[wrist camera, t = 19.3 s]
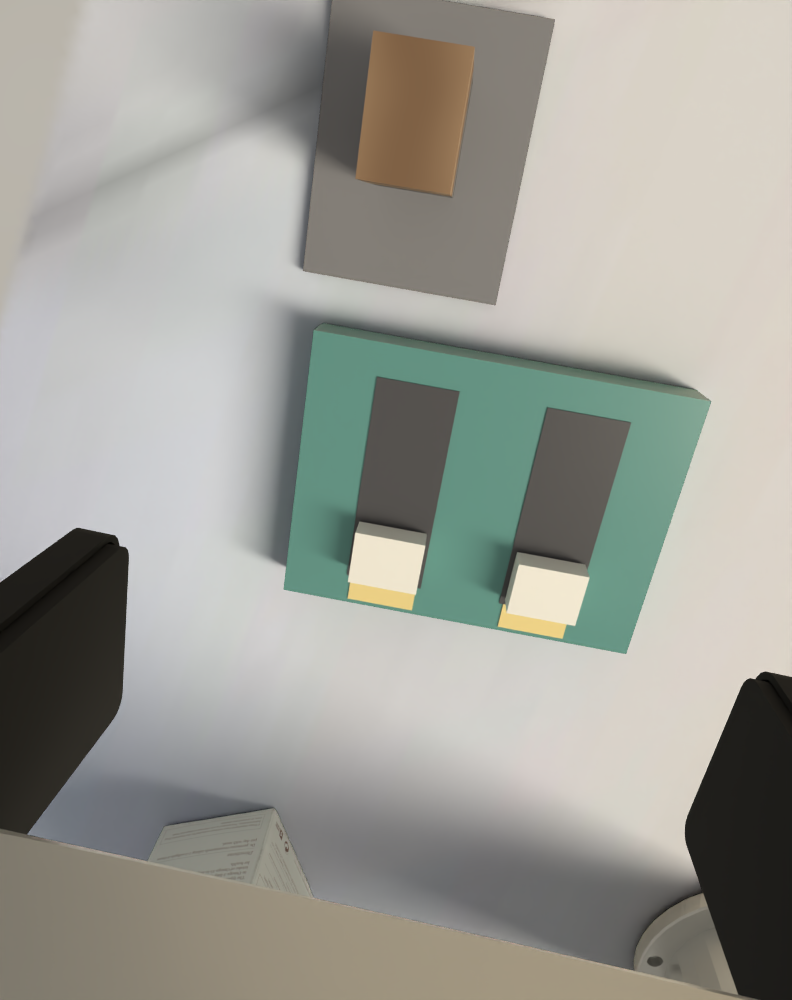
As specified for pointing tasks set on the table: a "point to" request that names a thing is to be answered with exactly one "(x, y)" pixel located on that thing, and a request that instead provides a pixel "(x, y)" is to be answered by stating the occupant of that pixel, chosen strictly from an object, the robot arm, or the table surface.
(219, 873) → the supplement box
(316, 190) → the mat
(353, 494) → the switch panel
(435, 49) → the brown cardboard box
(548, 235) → the table surface
